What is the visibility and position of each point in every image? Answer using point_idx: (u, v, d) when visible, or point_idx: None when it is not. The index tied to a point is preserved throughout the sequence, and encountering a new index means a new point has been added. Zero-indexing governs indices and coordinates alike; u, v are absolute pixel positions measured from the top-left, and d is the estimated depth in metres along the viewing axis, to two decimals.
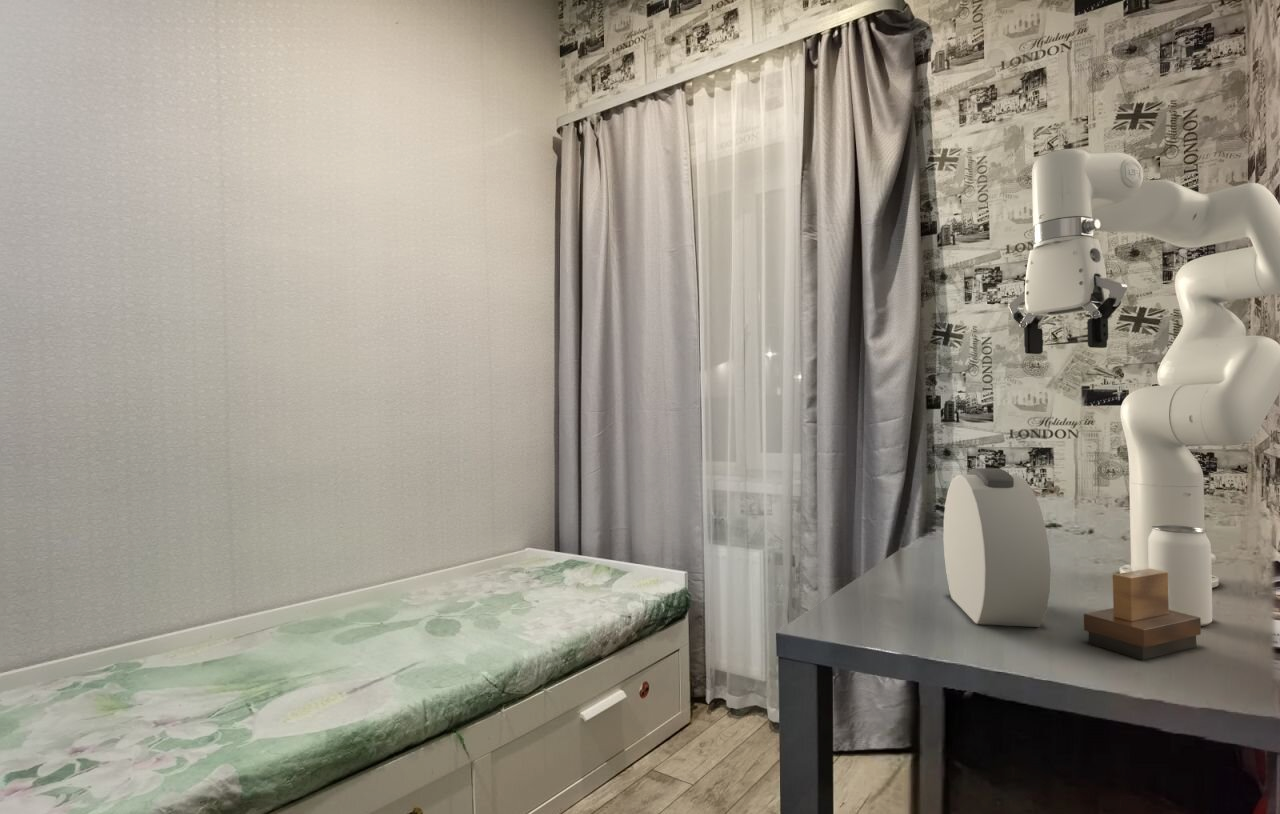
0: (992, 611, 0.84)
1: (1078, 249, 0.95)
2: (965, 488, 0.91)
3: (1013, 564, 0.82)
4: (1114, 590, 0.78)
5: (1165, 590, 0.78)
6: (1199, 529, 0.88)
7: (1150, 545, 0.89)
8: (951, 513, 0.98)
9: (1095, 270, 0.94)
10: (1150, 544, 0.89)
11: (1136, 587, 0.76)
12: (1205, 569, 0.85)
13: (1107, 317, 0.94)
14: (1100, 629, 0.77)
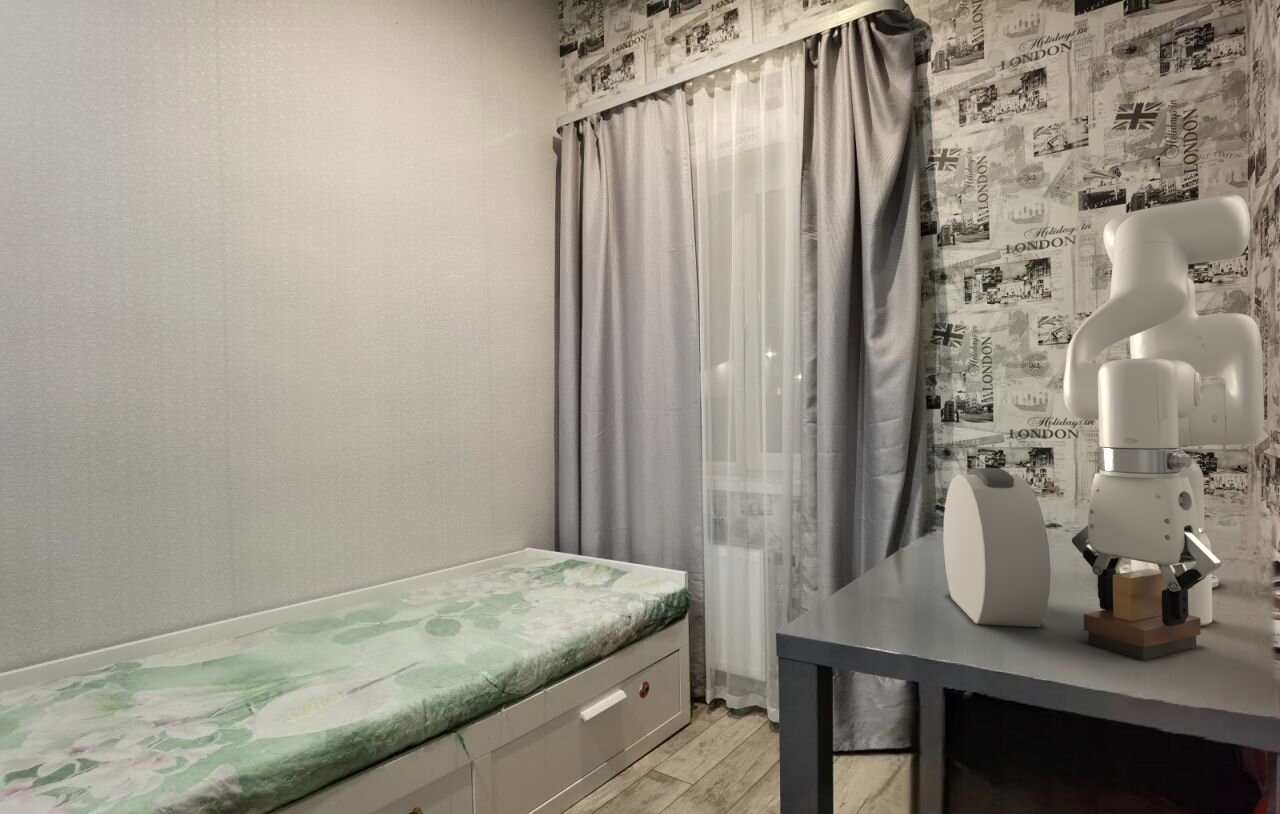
0: (992, 611, 0.84)
1: (1163, 492, 0.74)
2: (965, 488, 0.91)
3: (1013, 564, 0.82)
4: (1114, 590, 0.78)
5: None
6: (1199, 529, 0.88)
7: None
8: (951, 513, 0.98)
9: (1185, 521, 0.74)
10: None
11: (1136, 588, 0.76)
12: None
13: (1186, 589, 0.74)
14: (1100, 629, 0.77)
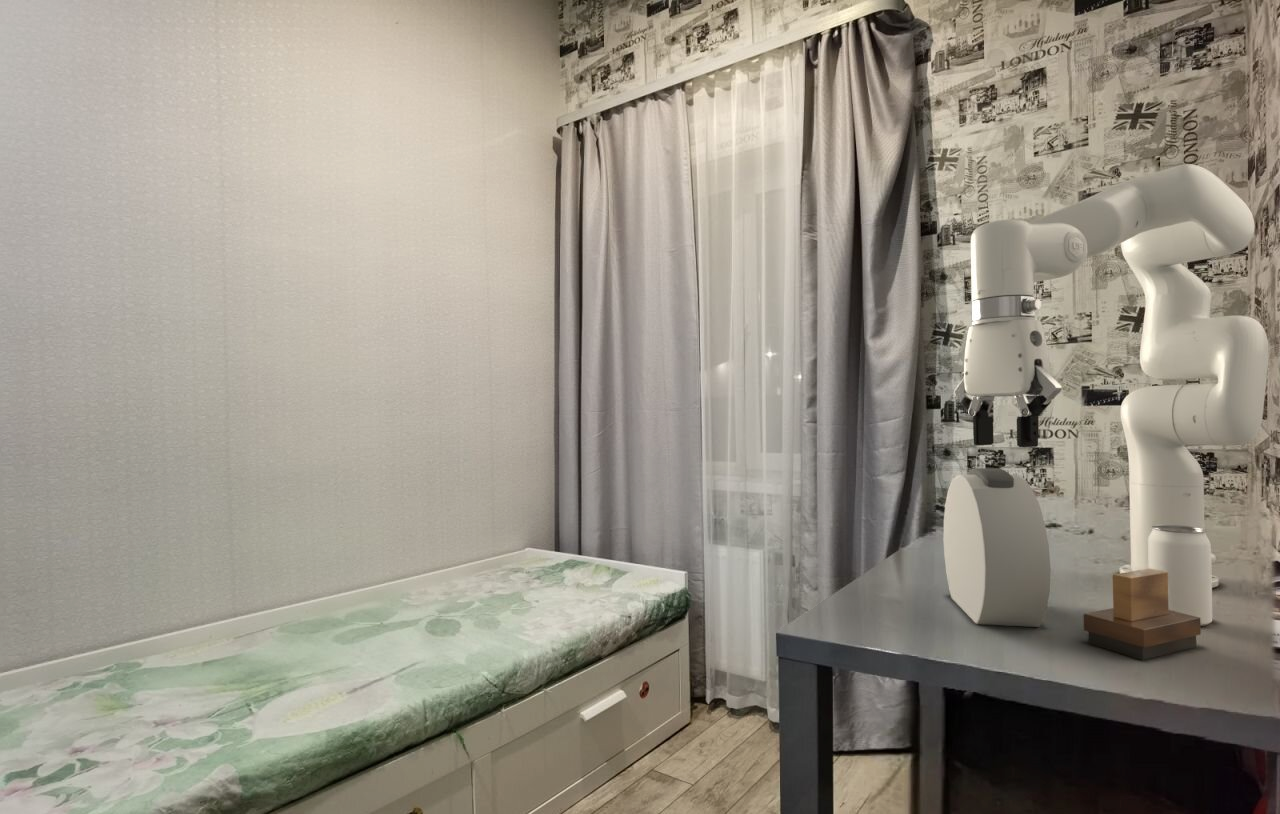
0: (993, 611, 0.84)
1: (1017, 331, 0.86)
2: (965, 488, 0.91)
3: (1013, 564, 0.82)
4: (1114, 590, 0.78)
5: (1165, 590, 0.78)
6: (1199, 529, 0.88)
7: (1150, 545, 0.89)
8: (951, 513, 0.98)
9: (1036, 355, 0.86)
10: (1150, 544, 0.89)
11: (1136, 587, 0.76)
12: (1205, 569, 0.85)
13: (1036, 416, 0.86)
14: (1100, 629, 0.77)
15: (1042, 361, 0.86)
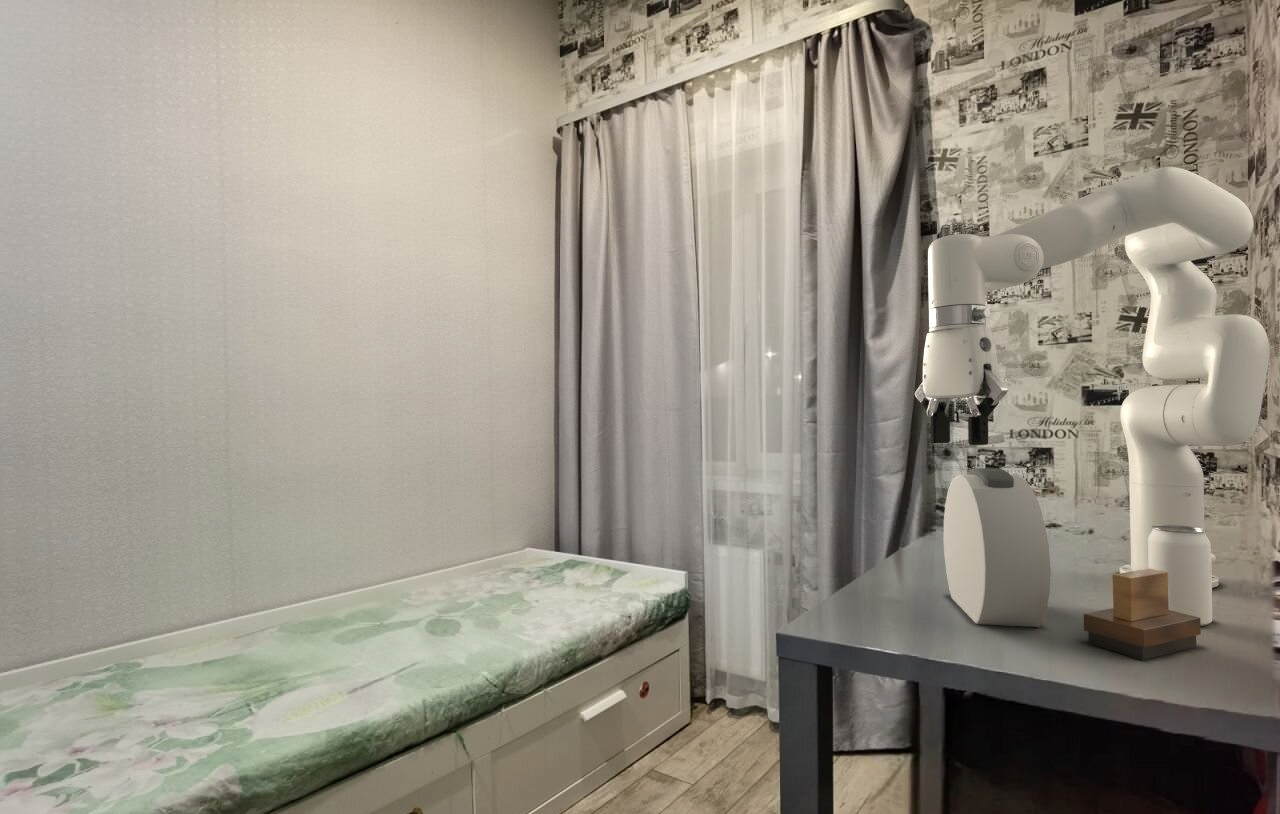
0: (993, 611, 0.84)
1: (968, 338, 0.93)
2: (965, 488, 0.91)
3: (1013, 564, 0.82)
4: (1114, 590, 0.78)
5: (1165, 590, 0.78)
6: (1199, 529, 0.88)
7: (1150, 545, 0.89)
8: (951, 513, 0.98)
9: (985, 360, 0.93)
10: (1150, 544, 0.89)
11: (1136, 587, 0.76)
12: (1205, 569, 0.85)
13: (986, 416, 0.93)
14: (1100, 629, 0.77)
15: (991, 365, 0.93)
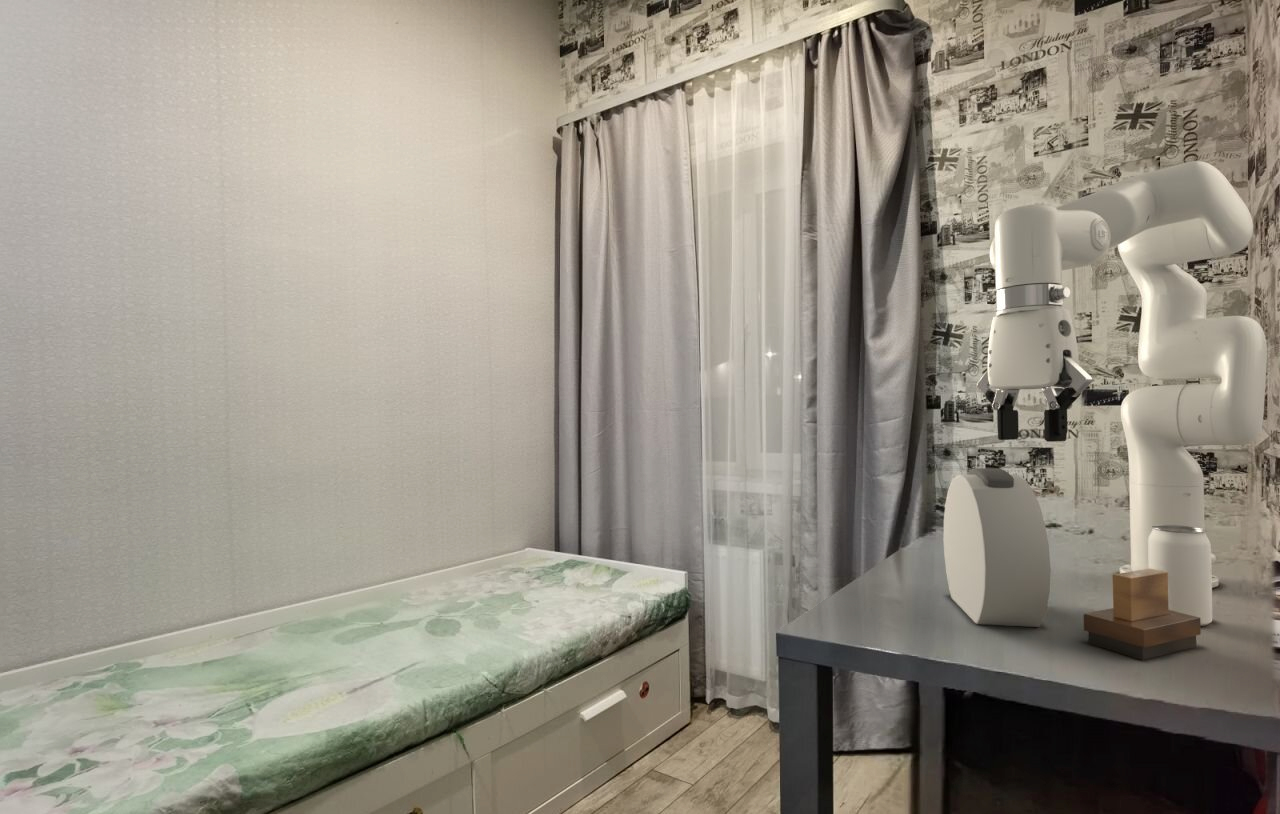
0: (993, 611, 0.84)
1: (1045, 321, 0.83)
2: (965, 488, 0.91)
3: (1013, 564, 0.82)
4: (1114, 590, 0.78)
5: (1165, 590, 0.78)
6: (1199, 529, 0.88)
7: (1150, 545, 0.89)
8: (951, 513, 0.98)
9: (1064, 346, 0.82)
10: (1150, 544, 0.89)
11: (1136, 587, 0.76)
12: (1205, 569, 0.85)
13: (1065, 409, 0.83)
14: (1100, 629, 0.77)
15: (1071, 352, 0.82)
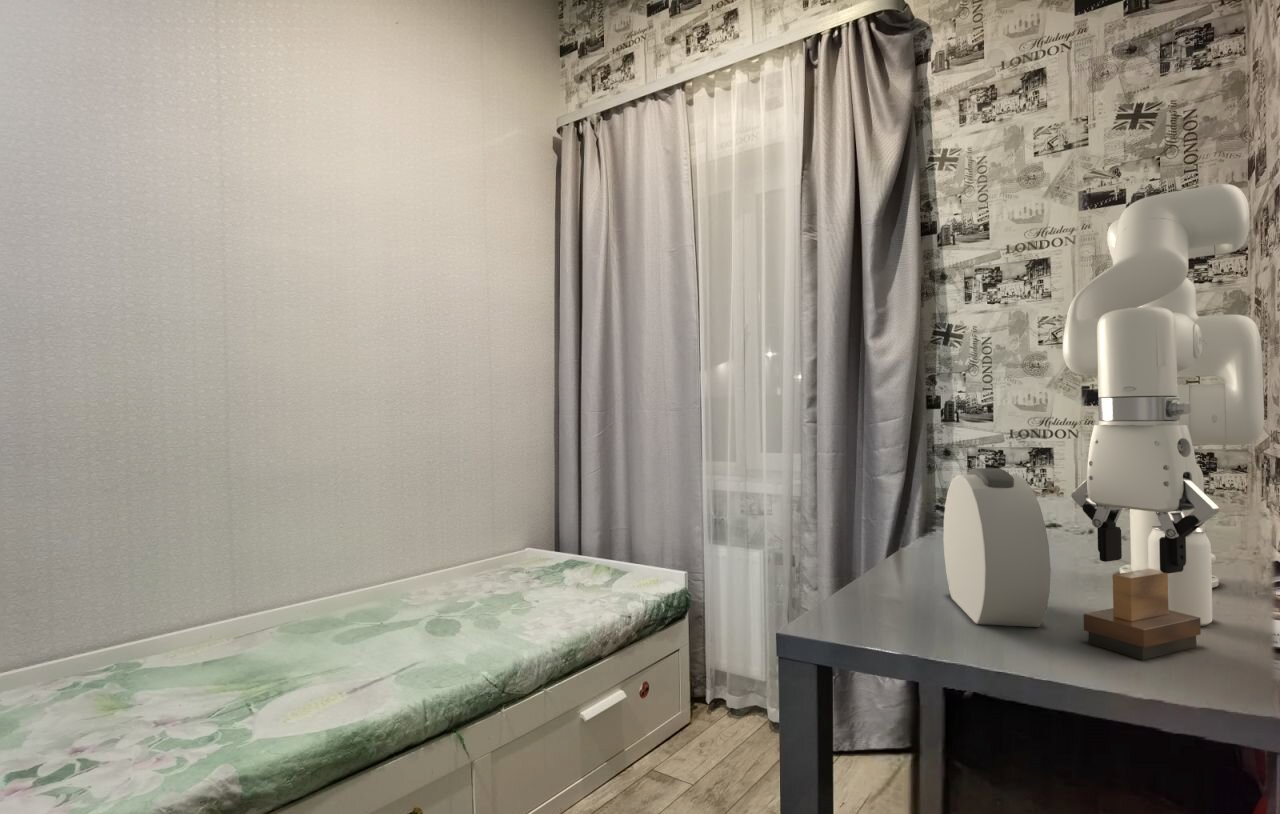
0: (993, 611, 0.84)
1: (1162, 439, 0.74)
2: (965, 488, 0.91)
3: (1013, 564, 0.82)
4: (1114, 590, 0.78)
5: (1165, 590, 0.78)
6: (1199, 529, 0.88)
7: (1150, 545, 0.89)
8: (951, 513, 0.98)
9: (1184, 468, 0.74)
10: (1150, 544, 0.89)
11: (1136, 587, 0.76)
12: (1205, 569, 0.85)
13: (1183, 537, 0.74)
14: (1100, 629, 0.77)
15: (1191, 474, 0.74)
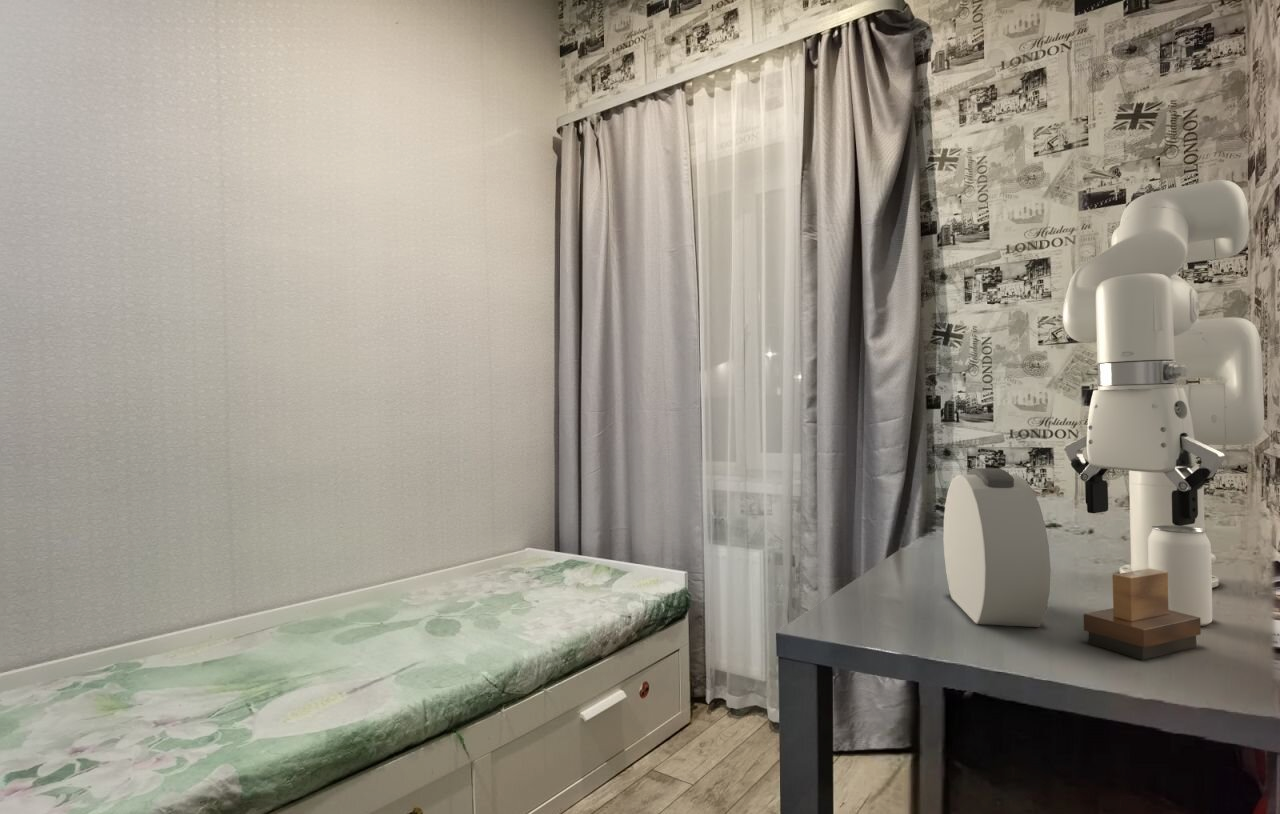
0: (992, 611, 0.84)
1: (1159, 402, 0.76)
2: (965, 488, 0.91)
3: (1013, 564, 0.82)
4: (1114, 590, 0.78)
5: (1165, 590, 0.78)
6: (1199, 529, 0.88)
7: (1150, 545, 0.89)
8: (951, 513, 0.98)
9: (1181, 429, 0.76)
10: (1150, 544, 0.89)
11: (1136, 587, 0.76)
12: (1205, 569, 0.85)
13: (1197, 488, 0.75)
14: (1100, 629, 0.77)
15: (1187, 435, 0.76)
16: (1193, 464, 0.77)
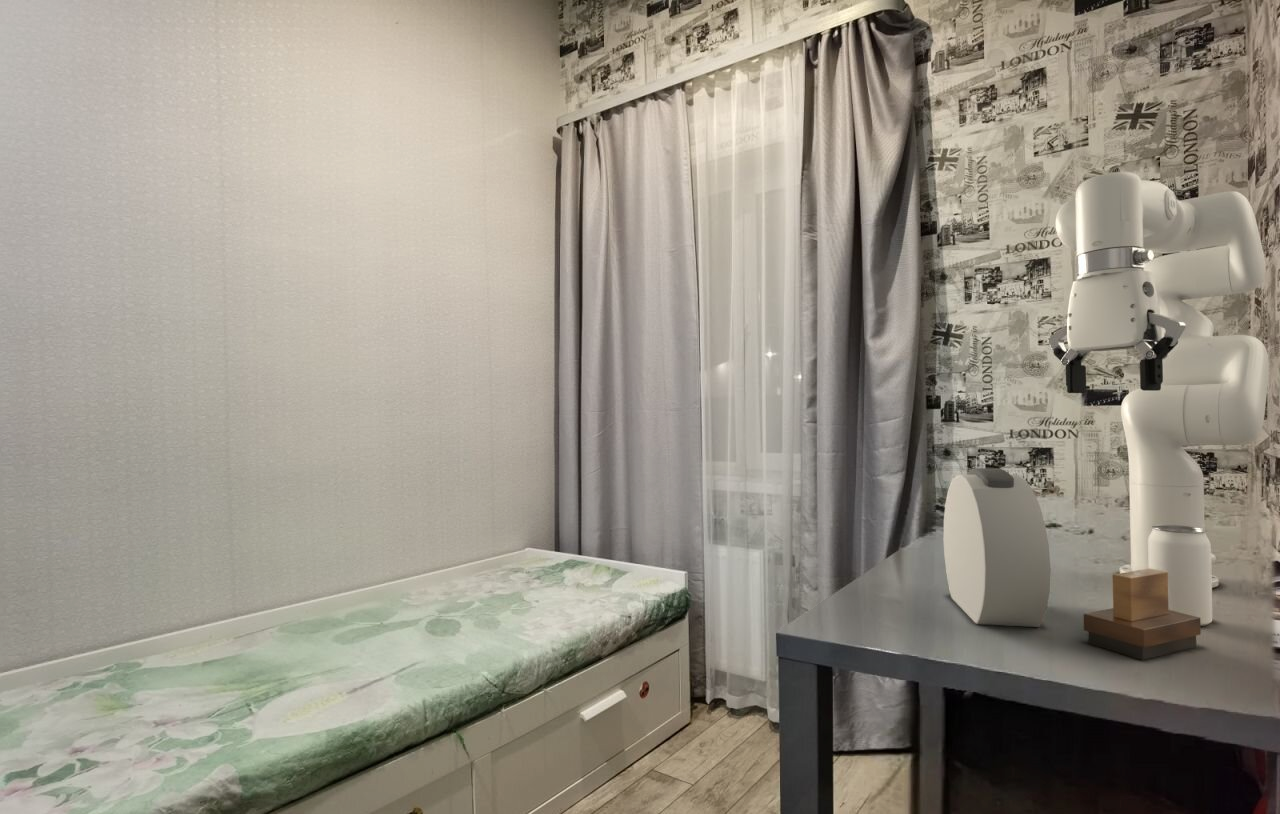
0: (993, 611, 0.84)
1: (1129, 282, 0.87)
2: (965, 488, 0.91)
3: (1013, 564, 0.82)
4: (1114, 590, 0.78)
5: (1165, 590, 0.78)
6: (1199, 529, 0.88)
7: (1150, 545, 0.89)
8: (951, 513, 0.98)
9: (1148, 306, 0.86)
10: (1150, 544, 0.89)
11: (1136, 587, 0.76)
12: (1205, 569, 0.85)
13: (1162, 357, 0.85)
14: (1100, 629, 0.77)
15: (1154, 312, 0.86)
16: (1159, 338, 0.87)
